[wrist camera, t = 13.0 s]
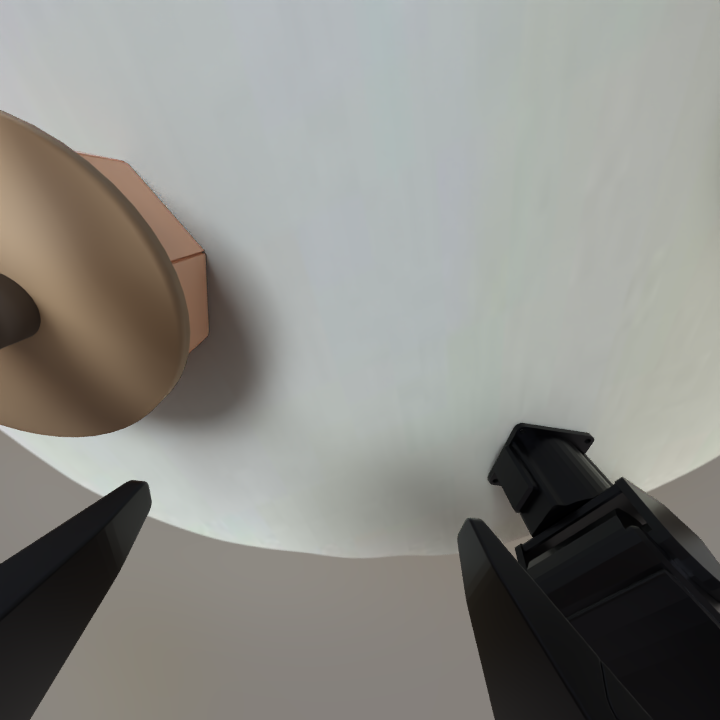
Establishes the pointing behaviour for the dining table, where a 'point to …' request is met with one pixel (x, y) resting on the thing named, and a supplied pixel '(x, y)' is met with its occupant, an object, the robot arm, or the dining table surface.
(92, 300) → the walnut lid
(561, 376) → the dining table surface
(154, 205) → the terracotta bowl
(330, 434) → the dining table surface
